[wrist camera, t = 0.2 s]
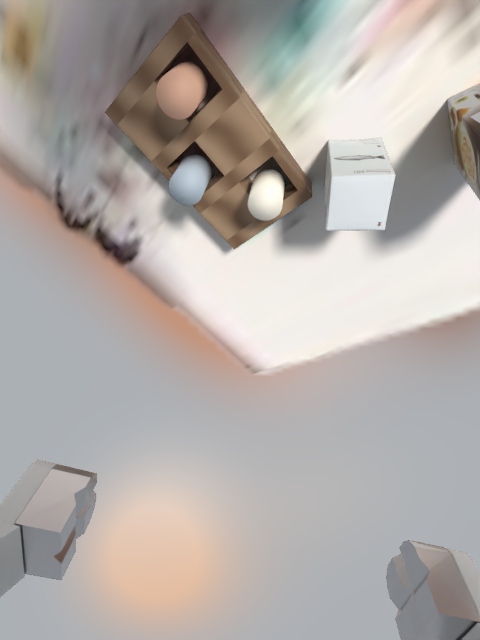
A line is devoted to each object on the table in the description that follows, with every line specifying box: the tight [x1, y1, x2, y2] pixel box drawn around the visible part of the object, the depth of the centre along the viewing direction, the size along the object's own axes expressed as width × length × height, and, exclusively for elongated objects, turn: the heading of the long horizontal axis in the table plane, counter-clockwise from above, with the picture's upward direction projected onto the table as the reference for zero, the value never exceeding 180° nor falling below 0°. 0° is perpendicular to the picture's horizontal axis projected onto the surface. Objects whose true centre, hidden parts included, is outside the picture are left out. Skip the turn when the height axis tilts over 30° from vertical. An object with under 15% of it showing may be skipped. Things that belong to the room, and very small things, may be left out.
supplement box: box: [325, 138, 395, 231], centre depth 48 cm, size 7×7×13 cm
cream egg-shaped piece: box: [248, 169, 285, 221], centre depth 50 cm, size 5×5×6 cm
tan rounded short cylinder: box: [156, 62, 208, 120], centre depth 42 cm, size 5×5×6 cm
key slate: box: [169, 154, 212, 205], centre depth 50 cm, size 5×5×6 cm
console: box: [105, 13, 312, 249], centre depth 51 cm, size 15×26×4 cm, turn 41°
